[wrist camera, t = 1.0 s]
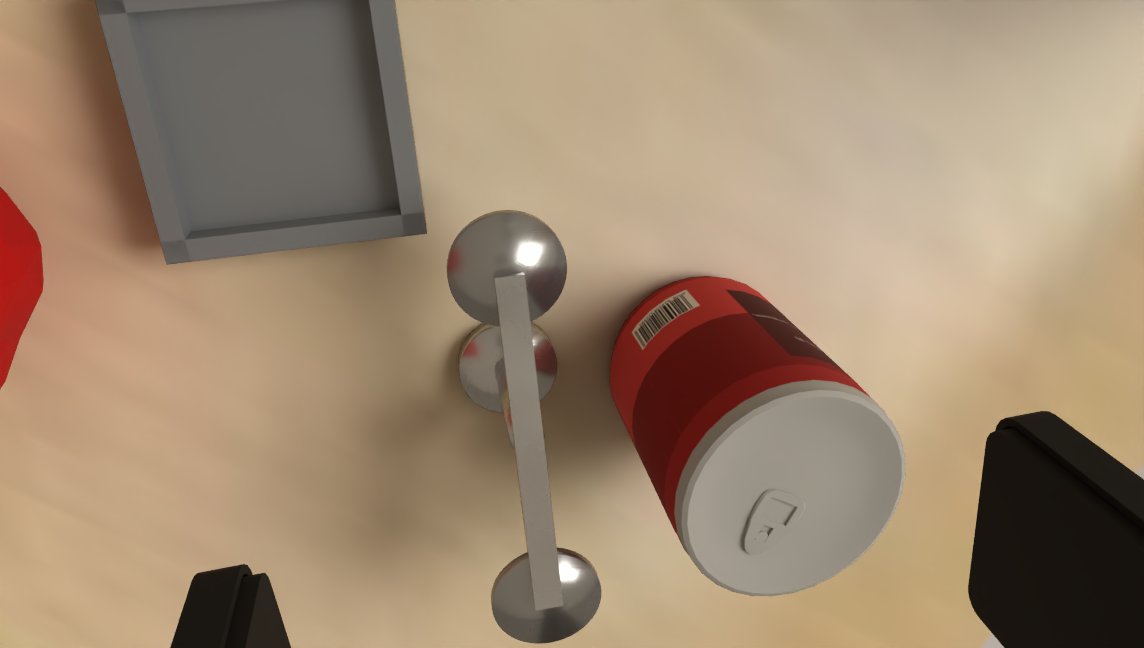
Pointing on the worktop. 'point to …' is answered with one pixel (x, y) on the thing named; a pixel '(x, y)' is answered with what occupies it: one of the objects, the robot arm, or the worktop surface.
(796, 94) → the worktop surface
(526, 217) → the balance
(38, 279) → the tomato
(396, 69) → the dish
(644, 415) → the canned food
